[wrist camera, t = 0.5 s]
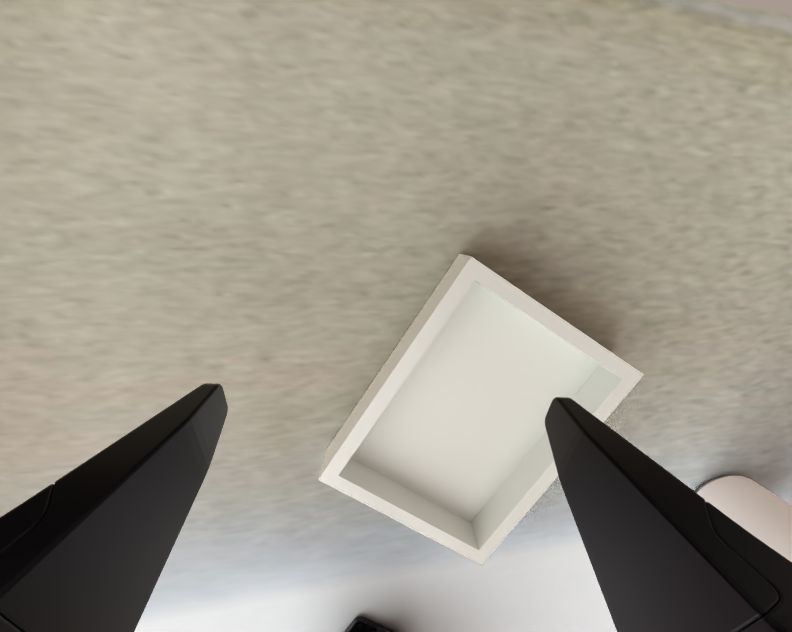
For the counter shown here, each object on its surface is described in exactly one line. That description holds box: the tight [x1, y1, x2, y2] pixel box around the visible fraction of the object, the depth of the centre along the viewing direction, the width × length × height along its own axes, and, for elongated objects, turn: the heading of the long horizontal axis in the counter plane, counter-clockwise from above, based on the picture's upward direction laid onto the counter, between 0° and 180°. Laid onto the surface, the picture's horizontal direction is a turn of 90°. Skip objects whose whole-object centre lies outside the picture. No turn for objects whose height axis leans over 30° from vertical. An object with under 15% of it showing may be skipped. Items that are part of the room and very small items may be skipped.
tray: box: [318, 254, 644, 565], centre depth 25 cm, size 18×14×4 cm
